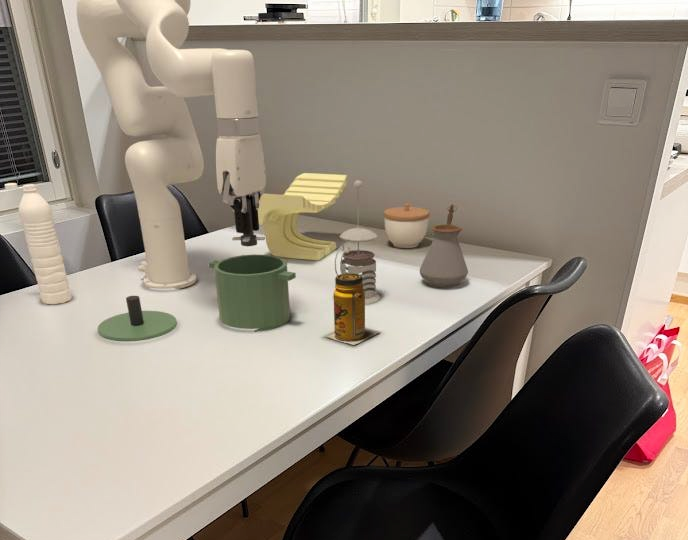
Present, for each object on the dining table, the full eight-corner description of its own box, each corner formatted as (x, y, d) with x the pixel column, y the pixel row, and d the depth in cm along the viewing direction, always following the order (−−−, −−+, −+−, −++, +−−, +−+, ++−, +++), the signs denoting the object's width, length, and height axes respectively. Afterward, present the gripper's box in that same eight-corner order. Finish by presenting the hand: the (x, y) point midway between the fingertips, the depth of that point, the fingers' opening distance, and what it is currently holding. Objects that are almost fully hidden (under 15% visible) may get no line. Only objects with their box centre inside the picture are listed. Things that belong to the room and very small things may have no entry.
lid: (140, 349, 130) (133, 315, 127) (82, 335, 137) (74, 303, 133) (192, 323, 142) (188, 291, 138) (136, 311, 148) (131, 281, 145)
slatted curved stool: (297, 236, 202) (294, 172, 192) (347, 240, 197) (346, 175, 187) (250, 263, 178) (244, 192, 169) (305, 269, 173) (302, 195, 164)
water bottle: (77, 296, 158) (51, 181, 144) (62, 305, 152) (33, 187, 139) (43, 294, 159) (14, 181, 146) (27, 303, 154) (-5, 186, 141)
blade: (230, 248, 133) (225, 203, 128) (236, 240, 138) (232, 196, 134) (262, 248, 132) (258, 203, 128) (267, 240, 138) (264, 196, 133)
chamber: (275, 338, 134) (271, 281, 128) (196, 322, 142) (188, 267, 136) (313, 315, 145) (311, 261, 139) (237, 301, 153) (232, 249, 147)
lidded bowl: (430, 250, 187) (432, 208, 181) (384, 251, 187) (384, 209, 181) (425, 238, 197) (427, 199, 192) (382, 239, 198) (383, 199, 192)
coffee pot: (465, 291, 157) (471, 224, 149) (416, 288, 159) (418, 222, 151) (471, 265, 174) (476, 204, 166) (426, 263, 176) (429, 203, 168)
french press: (389, 296, 154) (391, 179, 141) (354, 309, 147) (353, 188, 134) (357, 287, 160) (356, 174, 147) (322, 300, 153) (318, 182, 140)
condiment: (325, 337, 134) (323, 277, 128) (352, 325, 139) (352, 267, 133) (353, 346, 130) (353, 284, 124) (380, 333, 135) (381, 273, 129)
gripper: (247, 123, 132) (255, 221, 141) (194, 132, 120) (207, 238, 130) (279, 124, 128) (285, 224, 138) (228, 134, 117) (239, 242, 126)
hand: (247, 230), depth 134 cm, fingers closed on blade
